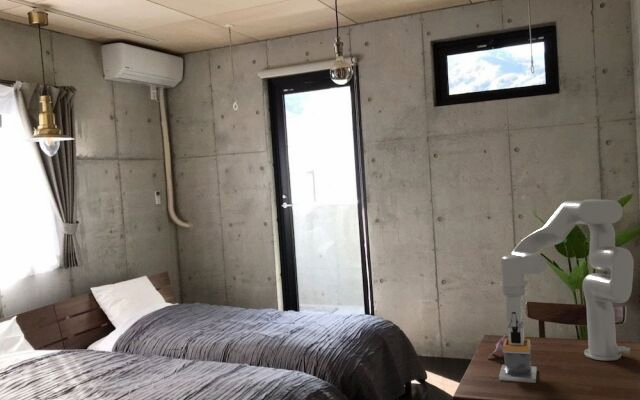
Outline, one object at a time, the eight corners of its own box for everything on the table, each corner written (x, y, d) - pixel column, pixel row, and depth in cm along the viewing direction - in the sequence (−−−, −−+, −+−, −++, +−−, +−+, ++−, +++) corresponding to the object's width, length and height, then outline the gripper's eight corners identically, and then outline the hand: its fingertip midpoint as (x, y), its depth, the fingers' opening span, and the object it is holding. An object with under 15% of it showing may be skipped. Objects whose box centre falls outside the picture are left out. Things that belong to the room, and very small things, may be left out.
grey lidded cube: (524, 341, 203) (523, 321, 203) (523, 345, 199) (522, 325, 198) (509, 340, 205) (508, 321, 205) (508, 344, 200) (507, 325, 200)
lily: (504, 353, 230) (491, 333, 231) (526, 348, 220) (512, 327, 221) (488, 369, 223) (475, 348, 224) (510, 365, 213) (495, 343, 214)
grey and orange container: (536, 370, 206) (535, 338, 205) (535, 382, 194) (533, 348, 194) (502, 368, 210) (500, 336, 210) (499, 380, 199) (497, 346, 199)
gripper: (504, 285, 210) (507, 333, 211) (500, 295, 194) (503, 347, 195) (526, 285, 207) (528, 334, 208) (523, 295, 192) (526, 348, 192)
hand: (516, 340), depth 202 cm, fingers closed on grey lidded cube, 4 cm apart
